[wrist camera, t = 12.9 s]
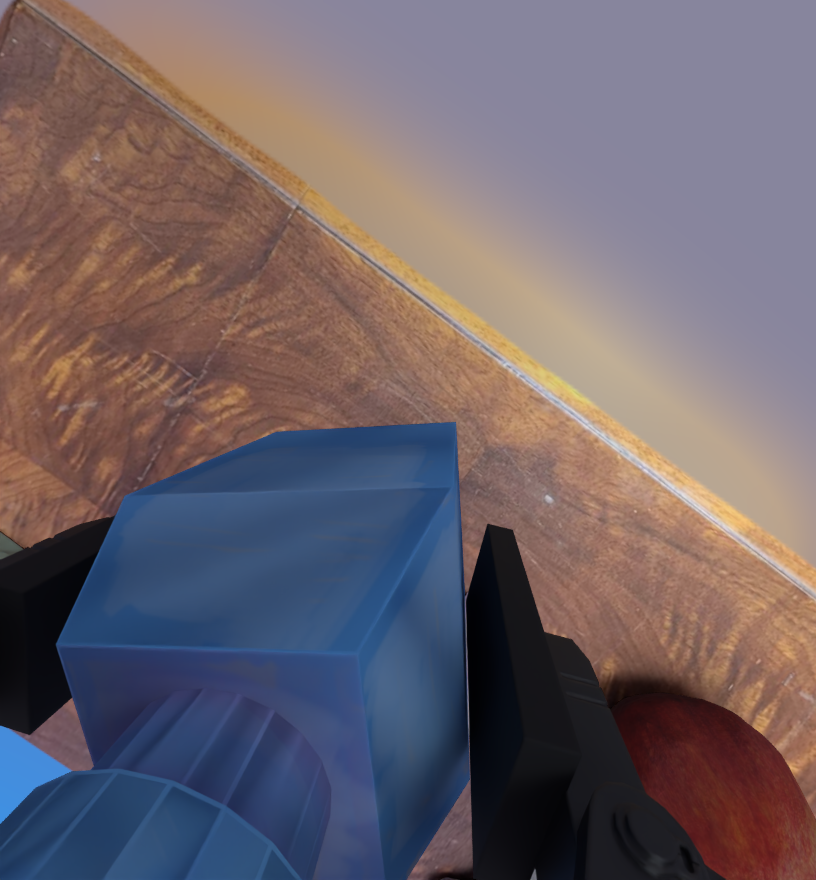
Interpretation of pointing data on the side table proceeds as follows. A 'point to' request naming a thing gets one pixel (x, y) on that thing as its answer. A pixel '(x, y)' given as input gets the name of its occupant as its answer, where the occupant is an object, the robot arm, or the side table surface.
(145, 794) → the perfume bottle
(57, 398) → the side table surface
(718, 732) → the fruit
